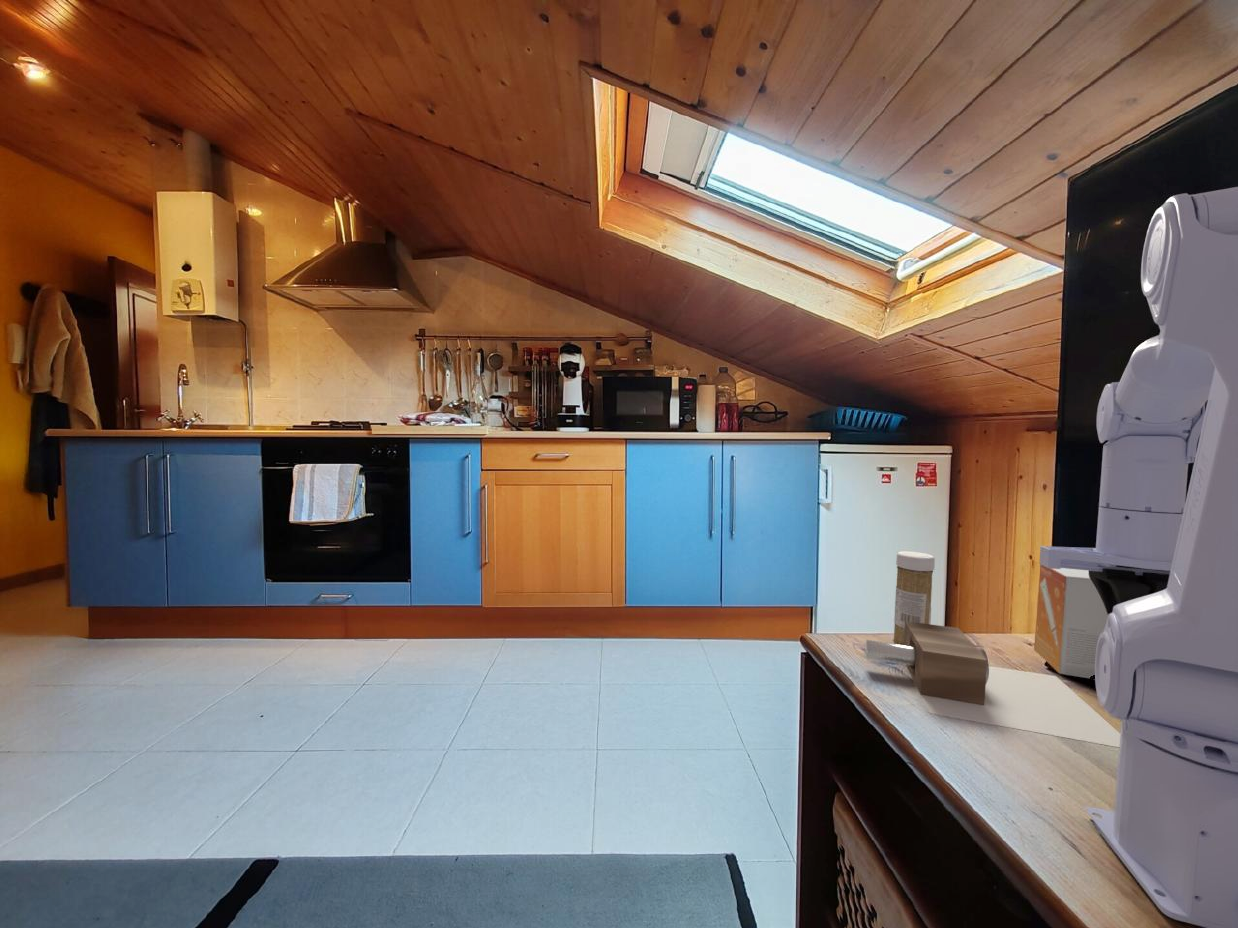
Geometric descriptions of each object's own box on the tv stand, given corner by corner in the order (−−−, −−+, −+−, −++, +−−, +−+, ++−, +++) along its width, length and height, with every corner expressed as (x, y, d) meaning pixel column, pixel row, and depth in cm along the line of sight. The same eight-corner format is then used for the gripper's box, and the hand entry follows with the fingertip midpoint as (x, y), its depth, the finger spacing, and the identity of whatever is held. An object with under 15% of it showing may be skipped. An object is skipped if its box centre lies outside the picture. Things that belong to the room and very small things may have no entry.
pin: (987, 691, 56) (989, 656, 56) (867, 671, 60) (869, 639, 60) (975, 675, 60) (977, 643, 60) (863, 658, 64) (865, 627, 64)
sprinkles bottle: (935, 650, 70) (941, 555, 69) (919, 657, 67) (924, 558, 67) (902, 639, 74) (907, 548, 73) (885, 645, 71) (890, 551, 70)
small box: (1032, 653, 70) (1039, 561, 69) (1090, 662, 68) (1097, 566, 67) (1058, 678, 62) (1065, 575, 62) (1124, 689, 60) (1132, 582, 59)
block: (984, 705, 54) (987, 660, 54) (920, 694, 56) (923, 650, 56) (956, 666, 63) (958, 628, 63) (902, 658, 65) (904, 621, 65)
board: (1138, 757, 47) (1139, 750, 47) (929, 718, 52) (929, 712, 52) (1055, 680, 62) (1055, 675, 62) (899, 657, 67) (899, 652, 67)
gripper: (1206, 510, 50) (1195, 645, 50) (1029, 500, 54) (1021, 623, 55) (1271, 520, 43) (1257, 675, 44) (1063, 507, 48) (1053, 647, 48)
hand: (1129, 648), depth 49 cm, fingers closed
